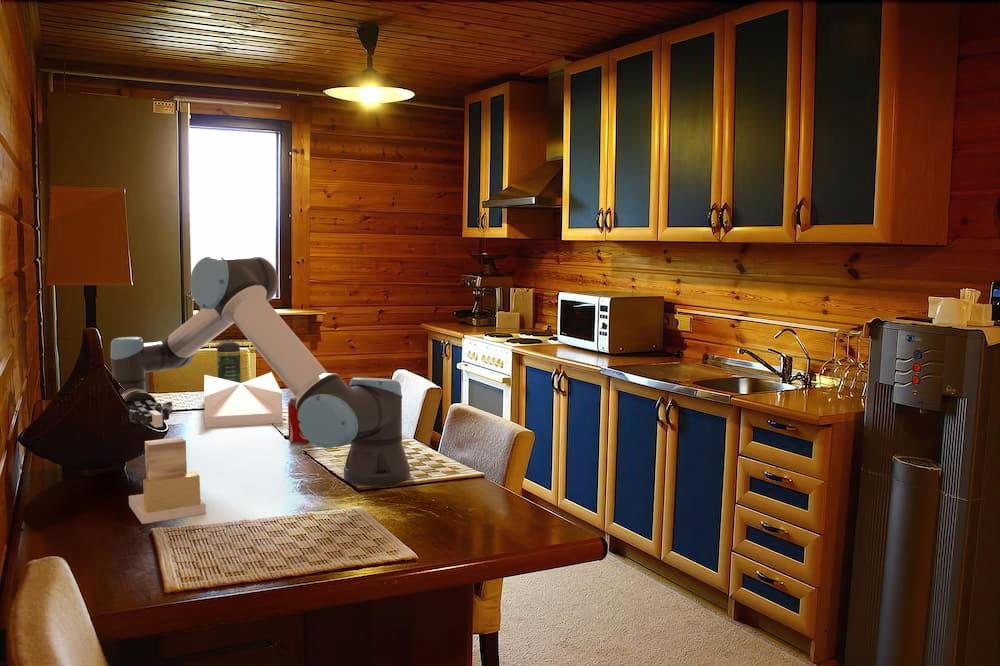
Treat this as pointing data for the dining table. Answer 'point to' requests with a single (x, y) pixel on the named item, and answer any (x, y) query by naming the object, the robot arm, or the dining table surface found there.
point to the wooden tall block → (165, 457)
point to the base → (138, 508)
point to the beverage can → (295, 425)
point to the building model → (242, 401)
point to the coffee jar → (229, 361)
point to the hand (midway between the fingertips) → (158, 420)
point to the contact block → (171, 492)
